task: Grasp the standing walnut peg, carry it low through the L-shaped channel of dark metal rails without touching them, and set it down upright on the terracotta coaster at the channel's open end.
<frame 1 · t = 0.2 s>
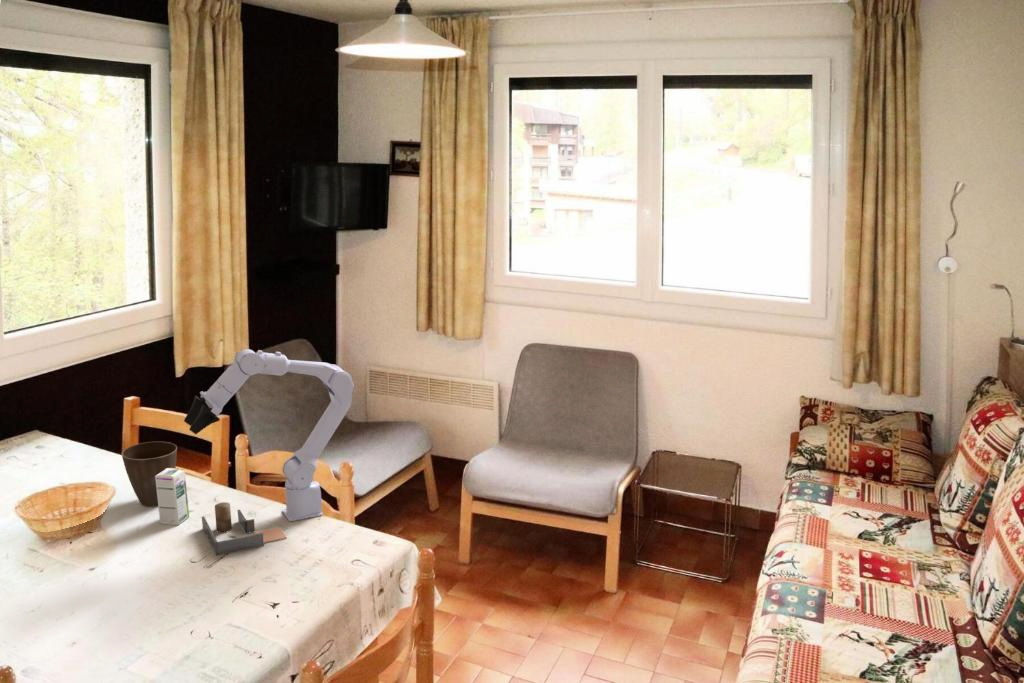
hand: (189, 427, 246), 30 cm above the table, tool tilted 45°, fingers open, 7 cm apart
walnut peg: (224, 529, 256), on the table
rail channel: (232, 543, 248), on the table
syrup box: (174, 521, 262), on the table
plant pot: (154, 502, 274), on the table
coaster: (270, 536, 253), on the table
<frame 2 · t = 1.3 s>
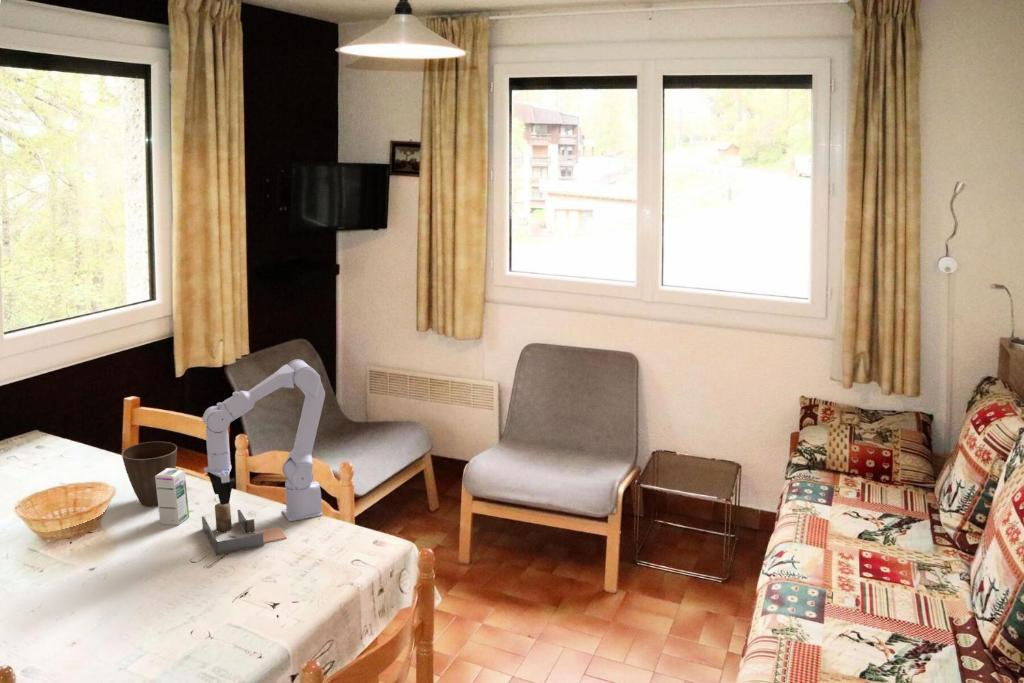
hand: (221, 498, 254), 9 cm above the table, tool pointing down, fingers open, 7 cm apart
nothing on the table moved.
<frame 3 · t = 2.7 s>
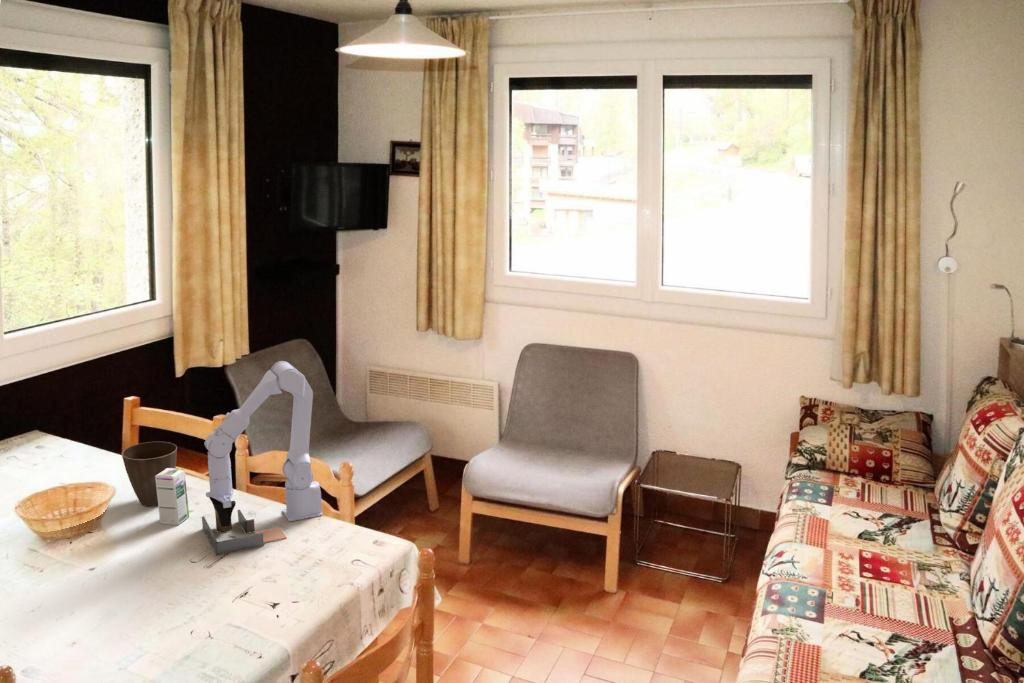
hand: (223, 522, 256), 2 cm above the table, tool pointing down, fingers closed on walnut peg, 4 cm apart
walnut peg: (224, 529, 256), on the table, touching gripper
everything else where it was.
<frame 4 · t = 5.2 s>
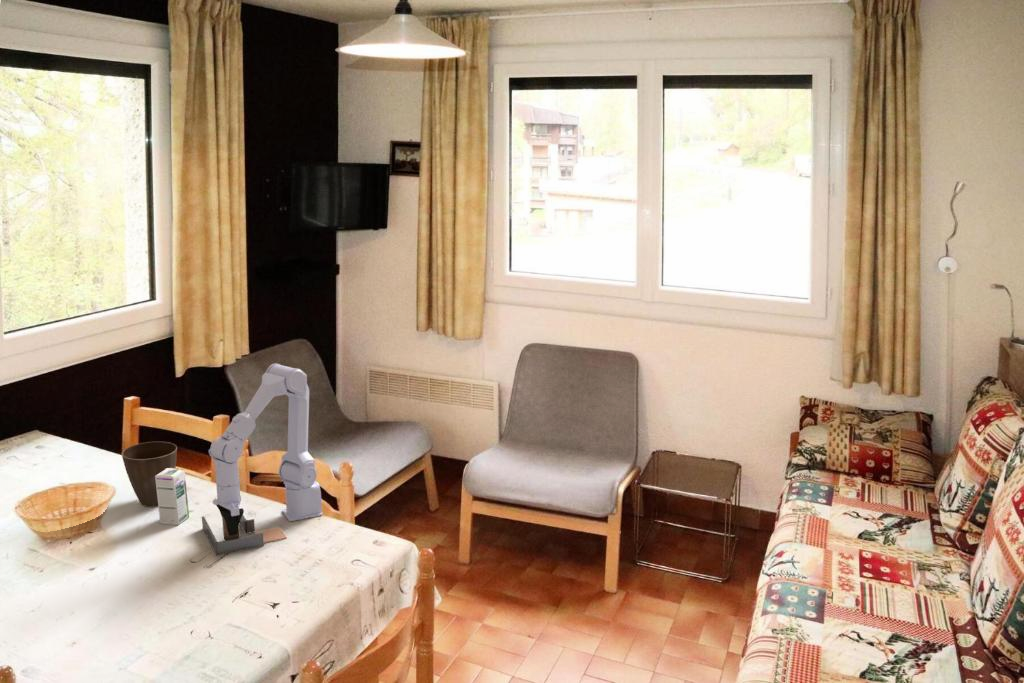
hand: (231, 531, 247), 4 cm above the table, tool pointing down, fingers closed on walnut peg, 4 cm apart
walnut peg: (231, 537, 248), point 2 cm above the table, touching gripper
everything else where it was.
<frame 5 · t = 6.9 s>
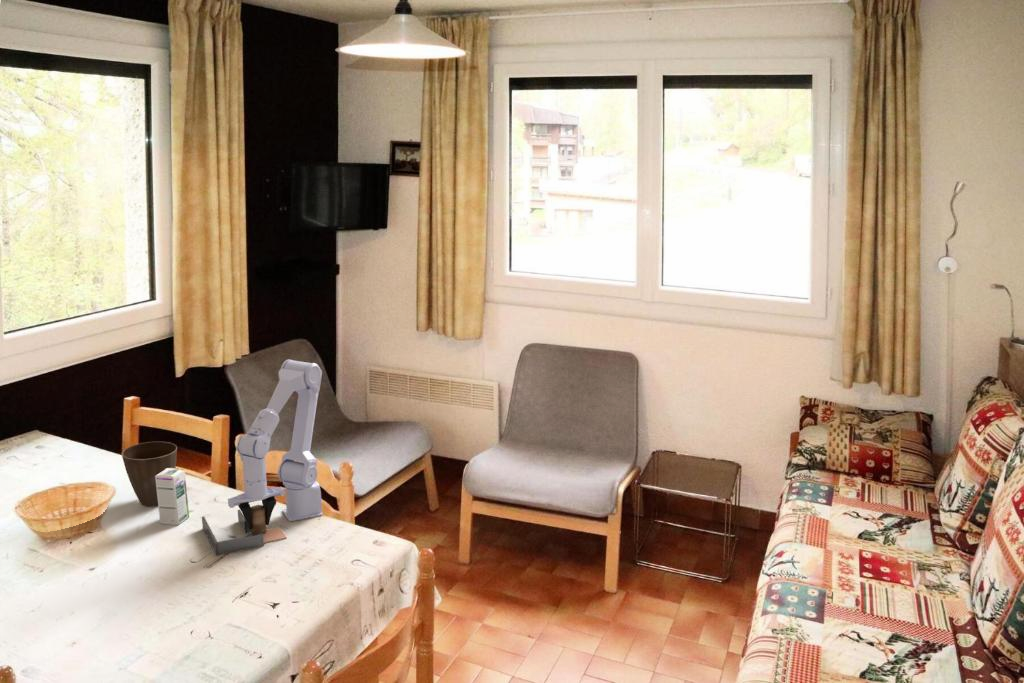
hand: (258, 525, 250), 4 cm above the table, tool pointing down, fingers closed on walnut peg, 4 cm apart
walnut peg: (258, 532, 251), point 2 cm above the table, touching gripper
everything else where it was.
when the fingers open (3 cm above the table, at t = 8.2 s): walnut peg stays where it is, resting on coaster.
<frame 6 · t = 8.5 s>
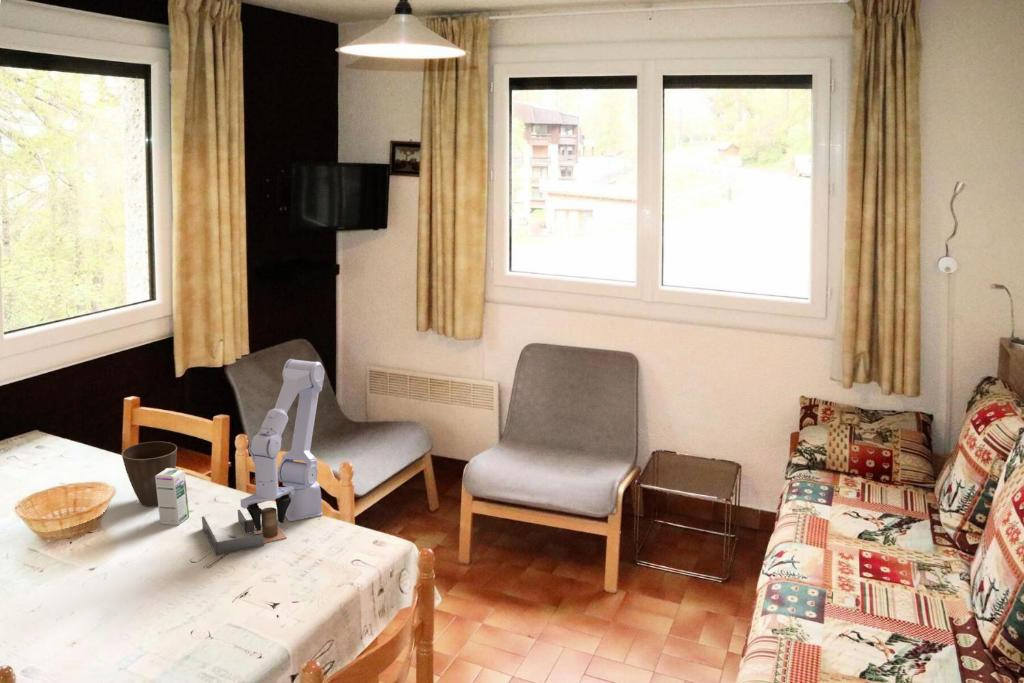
hand: (269, 525, 252), 3 cm above the table, tool pointing down, fingers open, 6 cm apart
walnut peg: (270, 534, 252), resting on coaster
everything else where it was.
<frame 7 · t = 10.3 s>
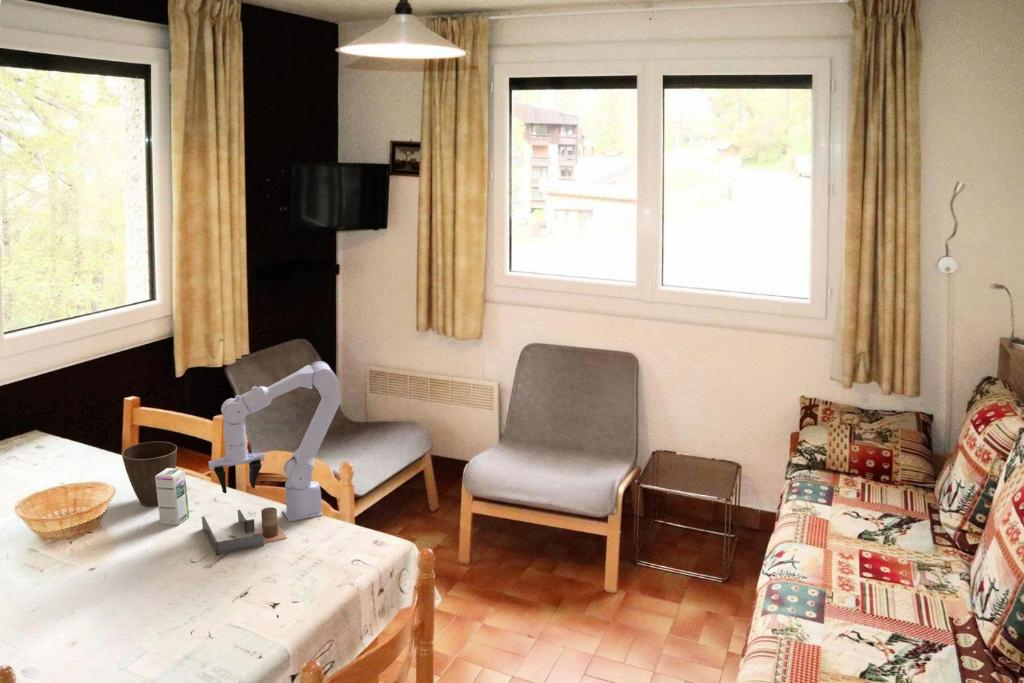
hand: (238, 489, 258), 10 cm above the table, tool pointing down, fingers open, 7 cm apart
nothing on the table moved.
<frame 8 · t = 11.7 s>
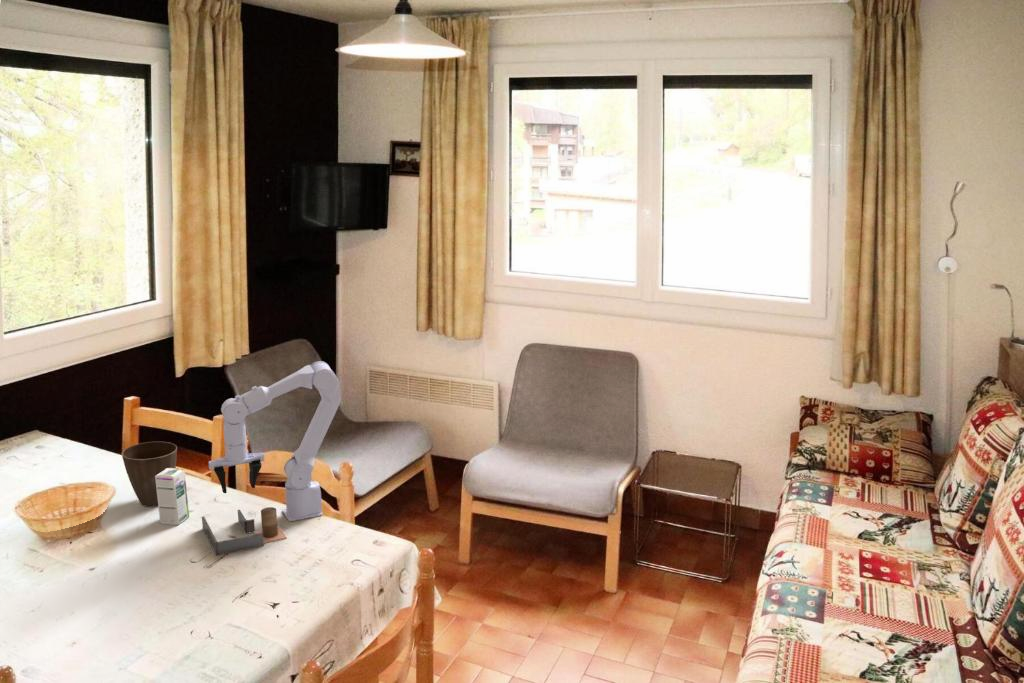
hand: (238, 489, 258), 10 cm above the table, tool pointing down, fingers open, 7 cm apart
nothing on the table moved.
at the end: walnut peg 0.0 cm off-centre on the coaster, point 0.4 cm above the coaster's base; walnut peg tilted 1°; the gripper is holding nothing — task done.
